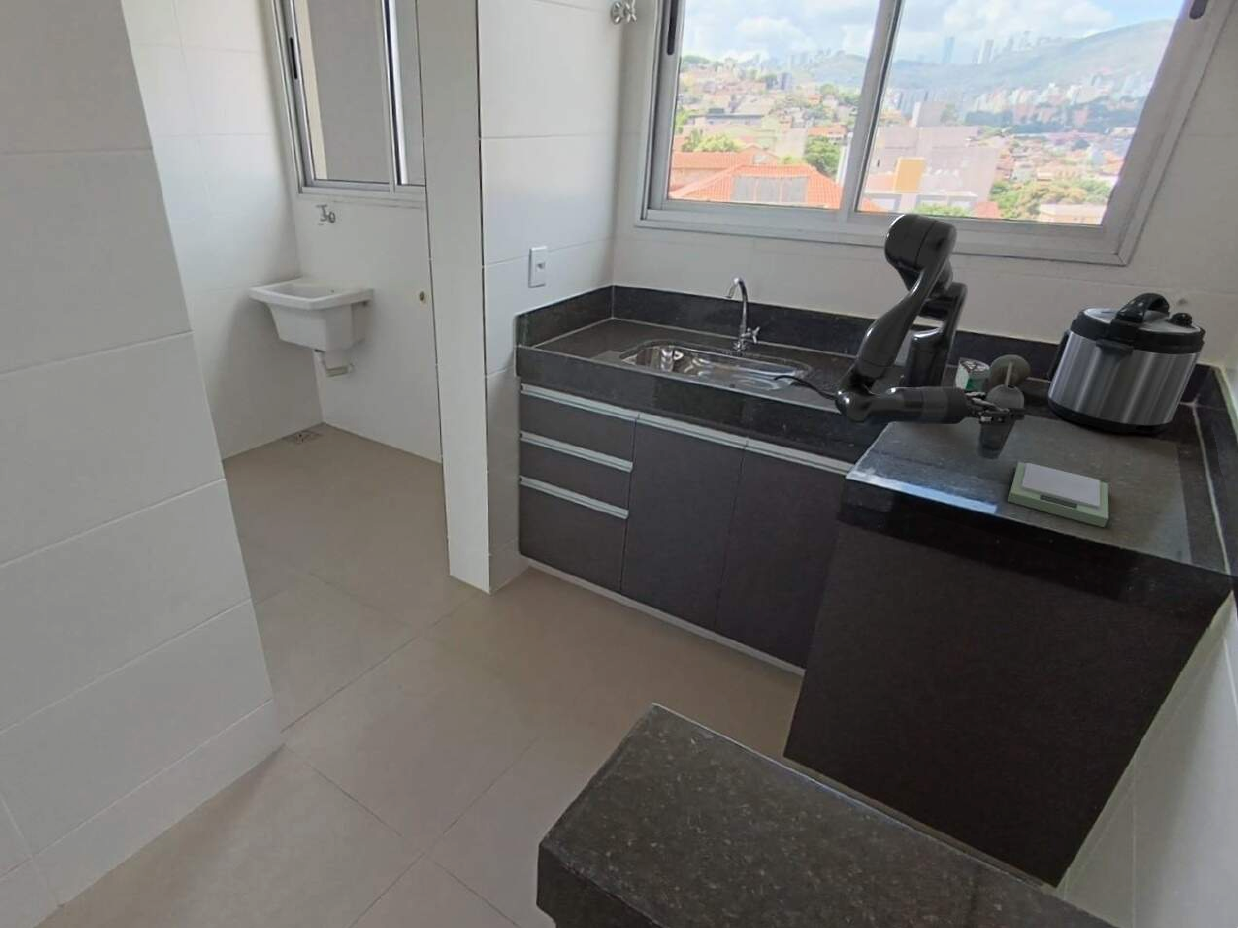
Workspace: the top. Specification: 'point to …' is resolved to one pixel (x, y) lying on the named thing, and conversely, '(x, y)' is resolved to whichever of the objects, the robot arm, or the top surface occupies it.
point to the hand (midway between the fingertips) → (1012, 406)
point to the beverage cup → (996, 435)
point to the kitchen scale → (1060, 493)
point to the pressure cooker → (1125, 366)
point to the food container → (971, 374)
